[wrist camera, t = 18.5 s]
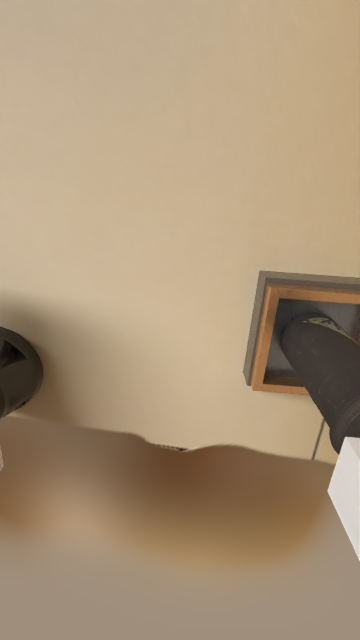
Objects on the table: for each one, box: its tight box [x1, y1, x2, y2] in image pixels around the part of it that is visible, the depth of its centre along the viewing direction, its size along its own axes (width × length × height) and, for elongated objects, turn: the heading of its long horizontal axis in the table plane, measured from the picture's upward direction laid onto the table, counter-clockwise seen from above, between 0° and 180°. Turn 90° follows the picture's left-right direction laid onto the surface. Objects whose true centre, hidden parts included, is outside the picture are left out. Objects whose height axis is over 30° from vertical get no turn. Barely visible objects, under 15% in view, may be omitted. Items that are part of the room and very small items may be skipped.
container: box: [280, 314, 360, 454], centre depth 37 cm, size 9×9×20 cm
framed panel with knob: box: [243, 271, 360, 395], centre depth 46 cm, size 24×17×6 cm
